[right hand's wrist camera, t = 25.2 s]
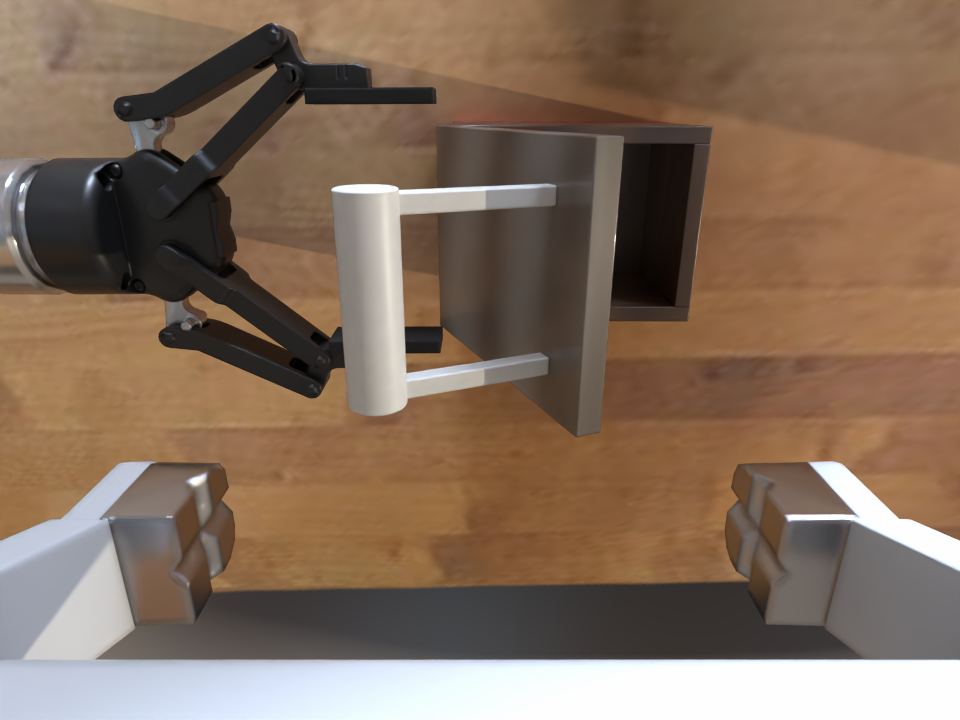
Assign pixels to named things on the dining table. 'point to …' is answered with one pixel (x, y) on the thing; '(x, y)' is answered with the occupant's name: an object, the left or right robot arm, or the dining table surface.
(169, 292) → the left robot arm
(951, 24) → the dining table surface
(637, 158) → the chest
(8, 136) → the dining table surface
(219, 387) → the dining table surface
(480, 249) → the lid
